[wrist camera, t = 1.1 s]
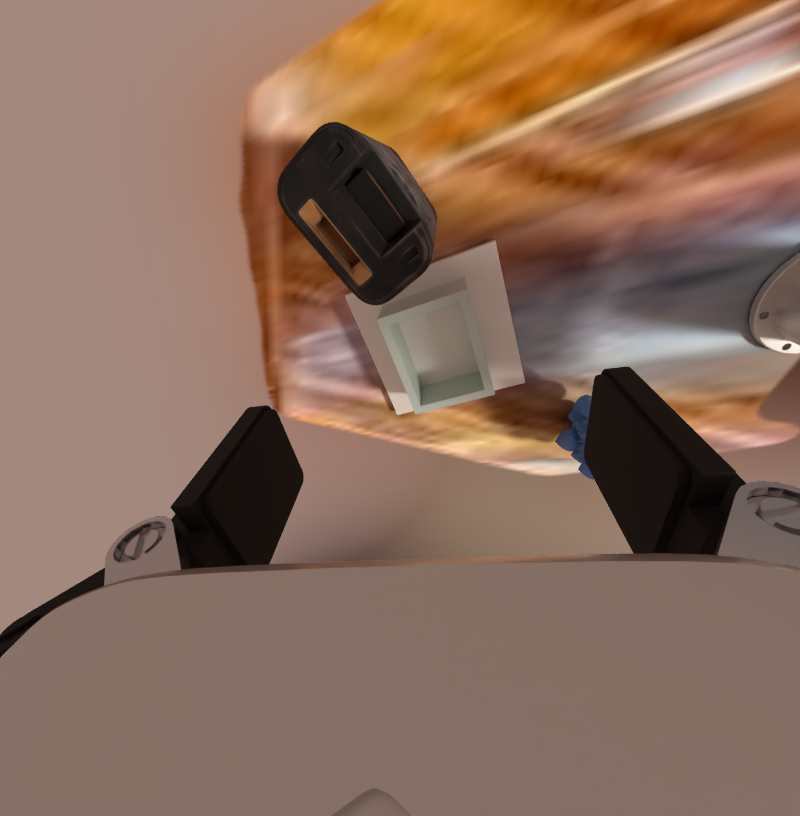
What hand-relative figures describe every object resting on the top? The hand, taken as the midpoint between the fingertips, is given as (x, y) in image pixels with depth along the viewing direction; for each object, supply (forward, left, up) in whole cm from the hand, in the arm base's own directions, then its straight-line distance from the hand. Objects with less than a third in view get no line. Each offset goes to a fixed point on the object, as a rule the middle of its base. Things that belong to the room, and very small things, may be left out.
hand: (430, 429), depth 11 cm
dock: (+3, +11, -34) cm, 36 cm away
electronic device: (+3, -5, -34) cm, 35 cm away
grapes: (-11, +27, -34) cm, 45 cm away
